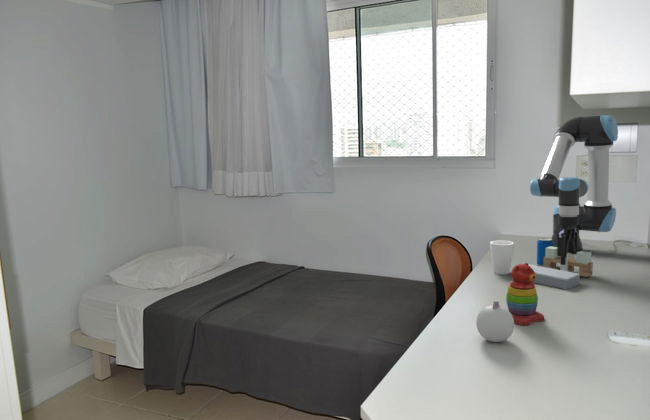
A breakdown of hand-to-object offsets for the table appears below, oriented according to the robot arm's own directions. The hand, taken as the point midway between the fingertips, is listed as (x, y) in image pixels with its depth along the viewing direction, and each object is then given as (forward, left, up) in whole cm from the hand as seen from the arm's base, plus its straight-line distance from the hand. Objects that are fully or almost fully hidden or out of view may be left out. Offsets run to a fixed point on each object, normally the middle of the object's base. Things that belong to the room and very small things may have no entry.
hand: (567, 270), depth 206 cm
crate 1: (0, -6, +5) cm, 8 cm away
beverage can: (-6, -13, -2) cm, 14 cm away
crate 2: (0, +7, +5) cm, 8 cm away
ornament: (+79, +19, -2) cm, 82 cm away
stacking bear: (+58, +15, -2) cm, 60 cm away
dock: (+15, -1, -1) cm, 15 cm away
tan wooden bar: (0, 0, 0) cm, 0 cm away
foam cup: (+16, -20, -2) cm, 26 cm away
